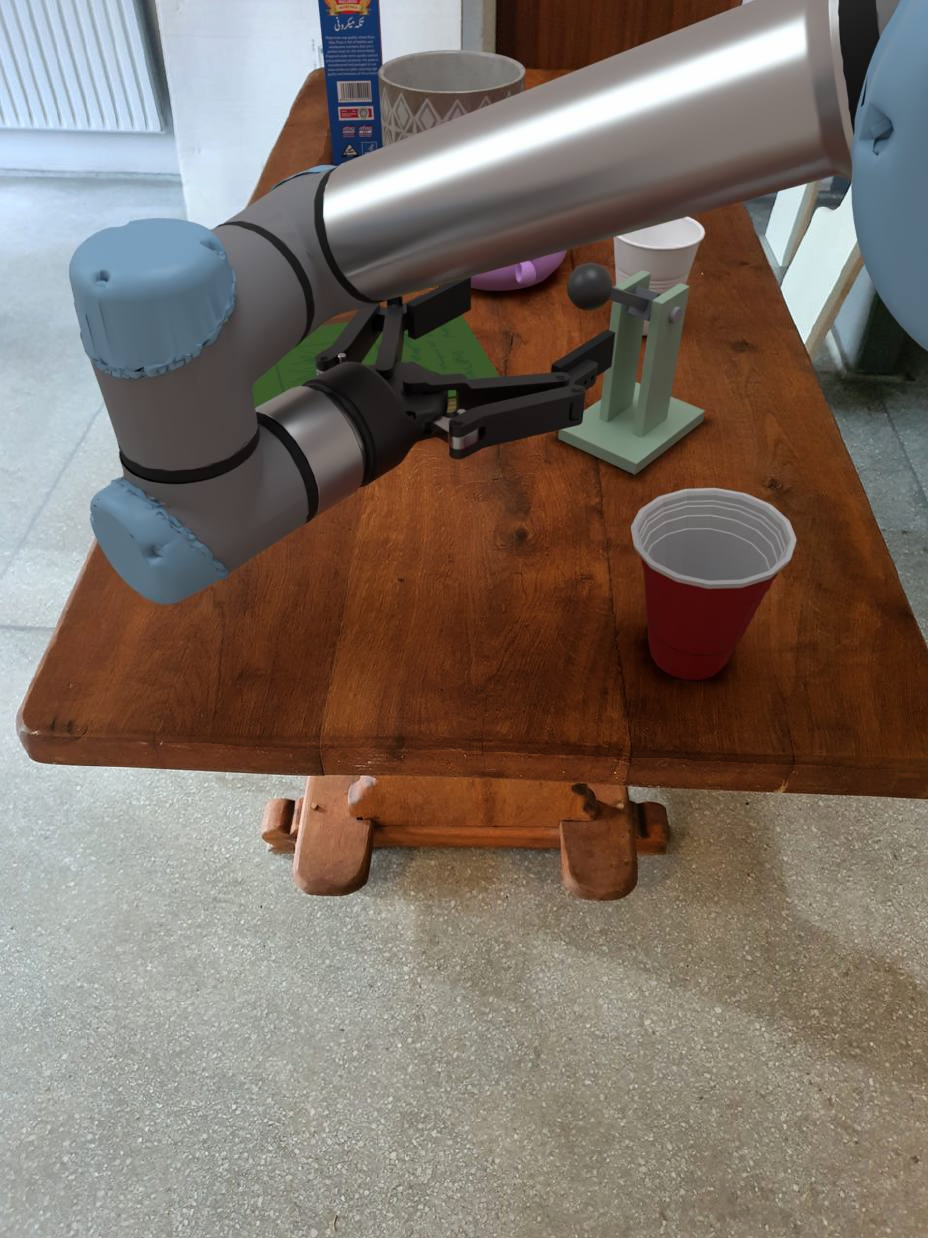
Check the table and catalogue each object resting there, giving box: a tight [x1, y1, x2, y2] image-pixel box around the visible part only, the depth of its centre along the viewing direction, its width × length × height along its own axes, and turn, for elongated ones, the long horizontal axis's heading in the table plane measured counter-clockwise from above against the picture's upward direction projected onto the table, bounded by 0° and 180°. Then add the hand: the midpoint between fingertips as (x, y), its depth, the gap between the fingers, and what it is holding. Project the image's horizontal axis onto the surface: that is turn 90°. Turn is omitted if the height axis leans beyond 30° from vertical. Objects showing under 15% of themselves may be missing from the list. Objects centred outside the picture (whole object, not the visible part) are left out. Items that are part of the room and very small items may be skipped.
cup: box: [613, 216, 706, 337], centre depth 105 cm, size 10×10×11 cm
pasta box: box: [317, 0, 384, 166], centre depth 142 cm, size 28×8×28 cm, turn 4°
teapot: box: [471, 250, 568, 292], centre depth 114 cm, size 22×22×14 cm
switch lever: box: [566, 262, 662, 321], centre depth 79 cm, size 14×4×4 cm, turn 138°
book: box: [252, 314, 501, 412], centre depth 97 cm, size 25×19×4 cm
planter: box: [378, 49, 526, 147], centre depth 130 cm, size 19×19×16 cm
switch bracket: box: [557, 270, 706, 476], centre depth 88 cm, size 12×9×15 cm
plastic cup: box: [630, 487, 798, 681], centre depth 67 cm, size 11×11×12 cm
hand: (535, 318), depth 72 cm, fingers open, 13 cm apart
